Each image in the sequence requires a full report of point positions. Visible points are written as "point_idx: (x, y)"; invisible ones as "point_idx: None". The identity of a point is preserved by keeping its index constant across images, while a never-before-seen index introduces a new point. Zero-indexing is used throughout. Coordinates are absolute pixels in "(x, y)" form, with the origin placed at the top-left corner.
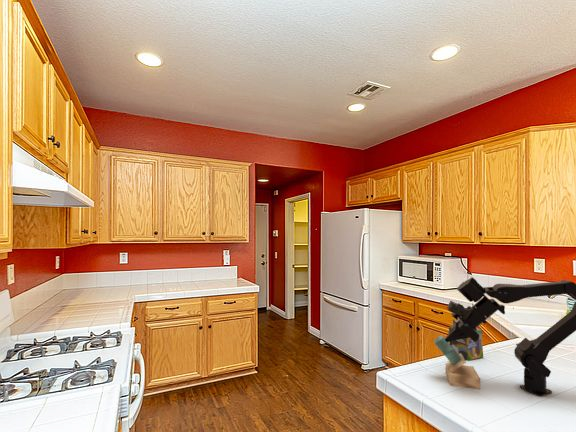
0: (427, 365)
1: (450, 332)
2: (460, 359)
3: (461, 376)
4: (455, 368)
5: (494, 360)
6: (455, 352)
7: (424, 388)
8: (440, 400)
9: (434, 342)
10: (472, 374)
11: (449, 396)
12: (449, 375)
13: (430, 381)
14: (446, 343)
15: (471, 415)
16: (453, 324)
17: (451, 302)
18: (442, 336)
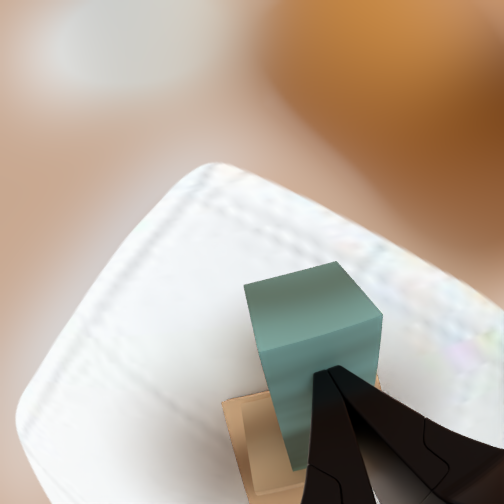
0: (389, 278)
1: (378, 438)
2: (290, 465)
3: (234, 452)
4: (245, 432)
5: None
6: (289, 449)
7: (145, 308)
8: (86, 365)
9: (274, 278)
10: (284, 493)
11: (124, 396)
12: (235, 399)
13: (221, 321)
14: (269, 391)
15: (52, 440)
16: (498, 487)
17: None
18: (349, 334)
